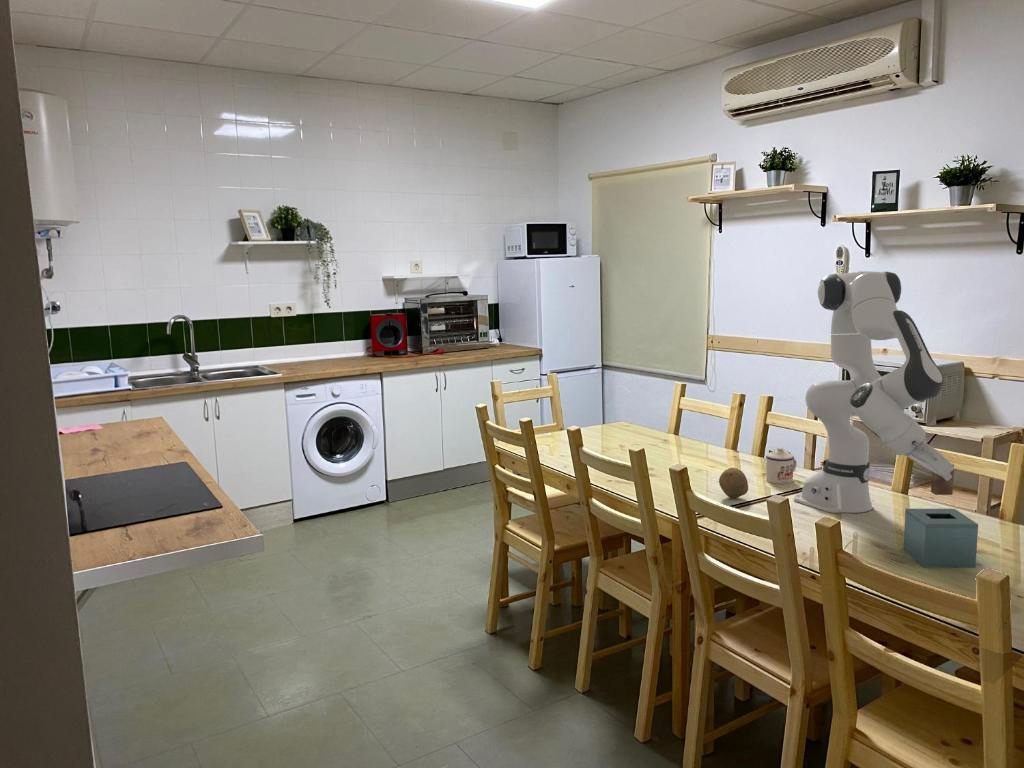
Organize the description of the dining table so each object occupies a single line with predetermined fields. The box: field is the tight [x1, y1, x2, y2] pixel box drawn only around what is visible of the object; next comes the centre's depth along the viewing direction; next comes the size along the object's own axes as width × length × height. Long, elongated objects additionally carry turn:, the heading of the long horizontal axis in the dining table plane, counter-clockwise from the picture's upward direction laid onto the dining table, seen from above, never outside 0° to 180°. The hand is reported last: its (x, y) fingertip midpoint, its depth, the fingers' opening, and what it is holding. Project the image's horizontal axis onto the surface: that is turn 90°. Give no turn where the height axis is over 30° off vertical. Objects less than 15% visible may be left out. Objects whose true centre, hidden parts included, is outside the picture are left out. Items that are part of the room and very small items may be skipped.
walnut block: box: [930, 463, 955, 496], centre depth 188 cm, size 4×2×8 cm, turn 84°
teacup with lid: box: [765, 447, 798, 485], centre depth 262 cm, size 12×9×12 cm
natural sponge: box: [718, 467, 749, 500], centre depth 245 cm, size 9×9×10 cm
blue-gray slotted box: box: [903, 508, 979, 569], centre depth 190 cm, size 12×12×11 cm
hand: (945, 476), depth 188 cm, fingers closed on walnut block, 2 cm apart
